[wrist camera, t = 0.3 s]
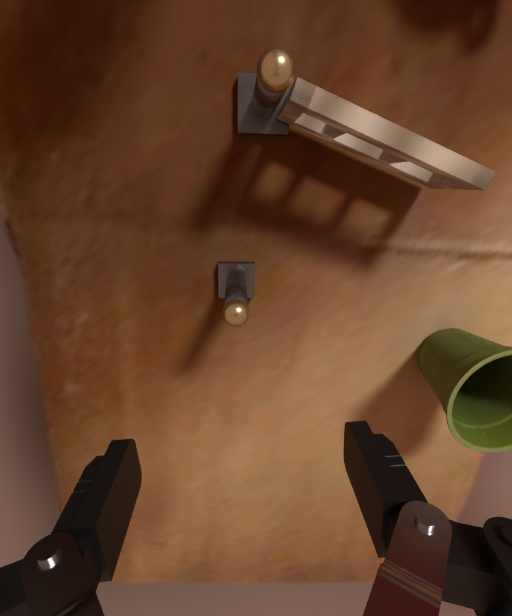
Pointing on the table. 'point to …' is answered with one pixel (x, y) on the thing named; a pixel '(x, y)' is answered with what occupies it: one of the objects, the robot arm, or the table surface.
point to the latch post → (236, 290)
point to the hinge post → (265, 93)
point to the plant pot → (471, 387)
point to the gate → (379, 140)
